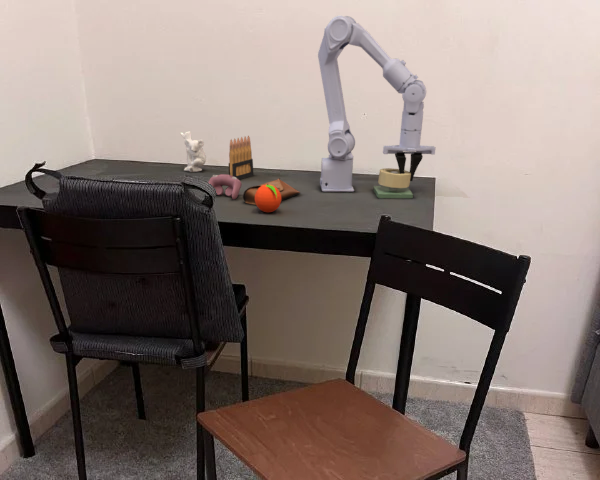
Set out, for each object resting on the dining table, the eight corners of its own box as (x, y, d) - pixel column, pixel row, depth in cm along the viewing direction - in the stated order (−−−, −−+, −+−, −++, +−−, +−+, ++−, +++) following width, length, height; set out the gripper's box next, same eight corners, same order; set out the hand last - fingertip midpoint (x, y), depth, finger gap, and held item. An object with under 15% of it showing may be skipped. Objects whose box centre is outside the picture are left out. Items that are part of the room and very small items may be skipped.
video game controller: (240, 203, 175) (244, 177, 174) (234, 198, 170) (238, 173, 170) (209, 199, 177) (212, 175, 177) (202, 195, 173) (206, 170, 172)
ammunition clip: (233, 181, 192) (231, 139, 186) (228, 180, 193) (226, 139, 186) (253, 175, 200) (252, 135, 193) (249, 174, 200) (247, 134, 194)
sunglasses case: (268, 205, 165) (257, 181, 163) (250, 215, 169) (239, 192, 168) (302, 192, 178) (292, 170, 176) (284, 202, 182) (274, 180, 181)
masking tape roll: (380, 186, 175) (382, 173, 173) (376, 180, 182) (378, 167, 180) (411, 189, 175) (413, 175, 173) (405, 182, 183) (407, 169, 181)
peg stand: (378, 198, 176) (379, 175, 172) (373, 190, 184) (374, 168, 181) (412, 198, 176) (415, 175, 173) (406, 190, 185) (408, 168, 181)
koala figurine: (177, 171, 203) (174, 131, 197) (191, 167, 208) (188, 129, 202) (197, 174, 200) (194, 134, 193) (210, 170, 205) (208, 131, 198)
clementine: (288, 214, 159) (288, 185, 156) (265, 217, 156) (265, 189, 153) (272, 207, 165) (272, 179, 161) (250, 210, 162) (249, 182, 158)
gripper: (387, 131, 167) (383, 183, 174) (440, 132, 168) (433, 183, 175) (383, 127, 173) (379, 178, 180) (434, 128, 174) (428, 178, 181)
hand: (406, 180), depth 178 cm, fingers closed on masking tape roll, 2 cm apart
